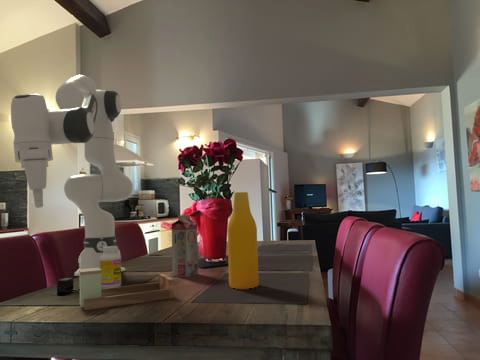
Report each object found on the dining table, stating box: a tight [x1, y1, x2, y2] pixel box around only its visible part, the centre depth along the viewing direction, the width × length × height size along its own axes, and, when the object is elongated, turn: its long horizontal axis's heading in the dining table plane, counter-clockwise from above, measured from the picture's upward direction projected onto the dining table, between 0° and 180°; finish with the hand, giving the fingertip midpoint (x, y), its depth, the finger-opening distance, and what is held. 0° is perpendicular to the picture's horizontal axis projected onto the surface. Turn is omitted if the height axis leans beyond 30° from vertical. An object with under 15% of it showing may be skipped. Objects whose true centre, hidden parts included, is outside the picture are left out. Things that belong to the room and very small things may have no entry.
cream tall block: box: [78, 268, 102, 309], centre depth 103 cm, size 5×5×9 cm
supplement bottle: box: [100, 245, 122, 289], centre depth 125 cm, size 7×7×13 cm
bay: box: [83, 272, 175, 311], centre depth 107 cm, size 12×23×5 cm, turn 116°
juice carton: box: [171, 214, 199, 278], centre depth 142 cm, size 7×7×22 cm
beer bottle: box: [227, 191, 260, 290], centre depth 119 cm, size 9×9×29 cm
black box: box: [48, 277, 79, 297], centre depth 118 cm, size 12×7×5 cm, turn 172°
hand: (39, 206), depth 102 cm, fingers open, 8 cm apart
